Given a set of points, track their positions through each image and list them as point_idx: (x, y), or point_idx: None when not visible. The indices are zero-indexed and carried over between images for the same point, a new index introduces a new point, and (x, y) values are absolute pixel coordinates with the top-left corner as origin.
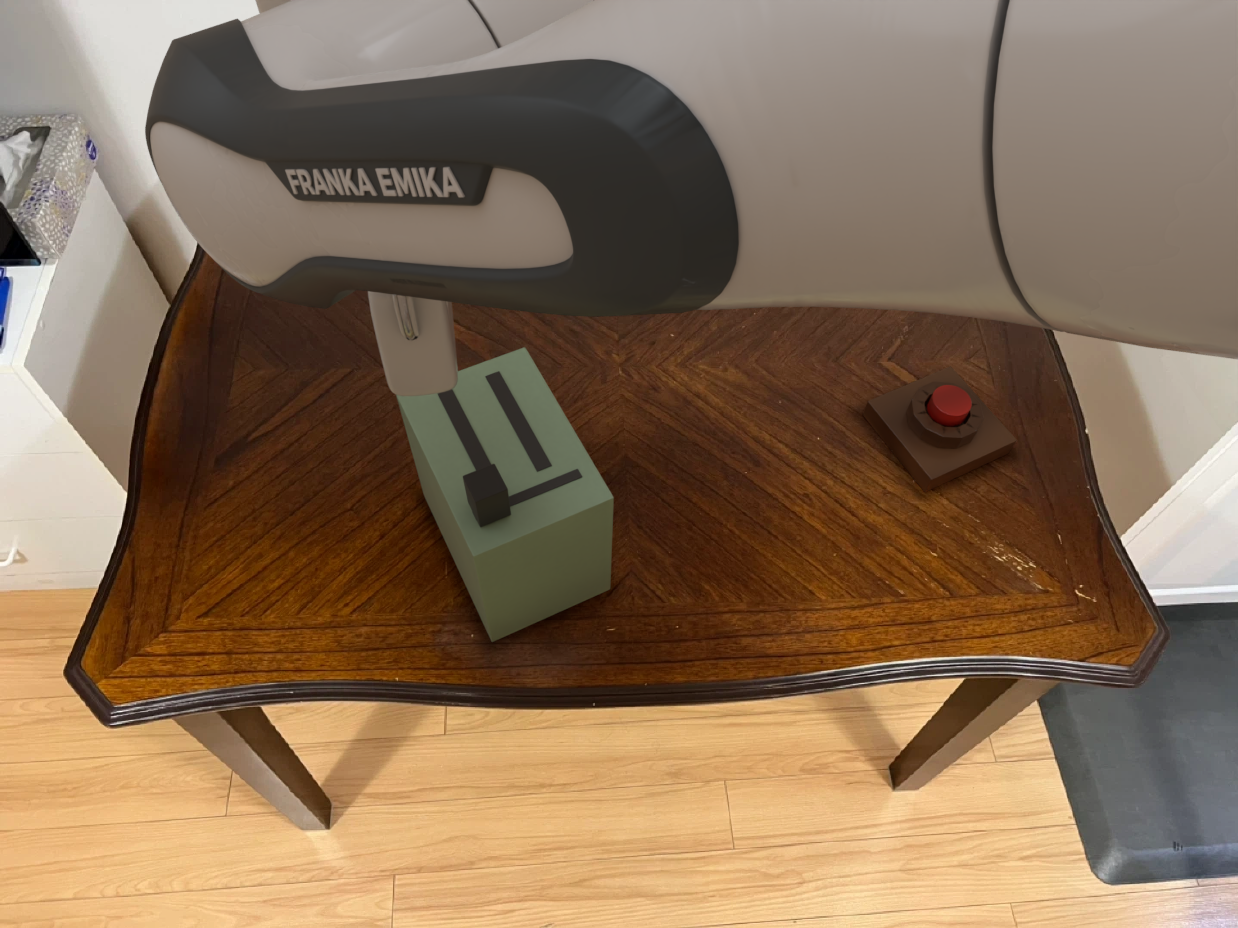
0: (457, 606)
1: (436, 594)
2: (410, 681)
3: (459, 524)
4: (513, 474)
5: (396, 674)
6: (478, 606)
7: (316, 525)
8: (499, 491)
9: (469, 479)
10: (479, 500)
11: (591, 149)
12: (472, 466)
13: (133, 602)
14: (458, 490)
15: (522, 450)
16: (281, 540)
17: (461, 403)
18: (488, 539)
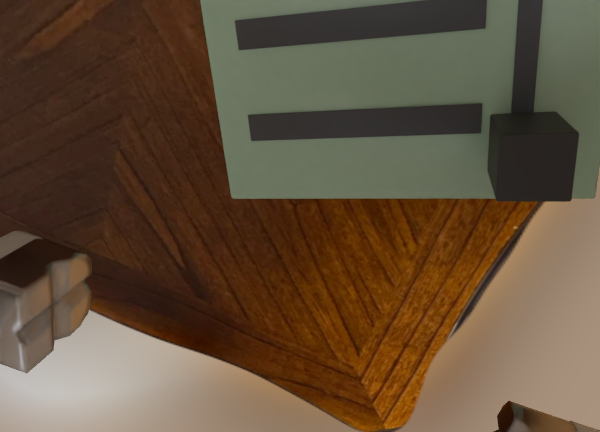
0: None
1: None
2: (526, 216)
3: None
4: (468, 74)
5: (510, 226)
6: None
7: (301, 241)
8: (575, 150)
9: (512, 193)
10: (571, 193)
11: None
12: (417, 137)
13: (322, 389)
14: (453, 175)
15: (424, 39)
16: (306, 274)
17: (282, 110)
18: (578, 164)
